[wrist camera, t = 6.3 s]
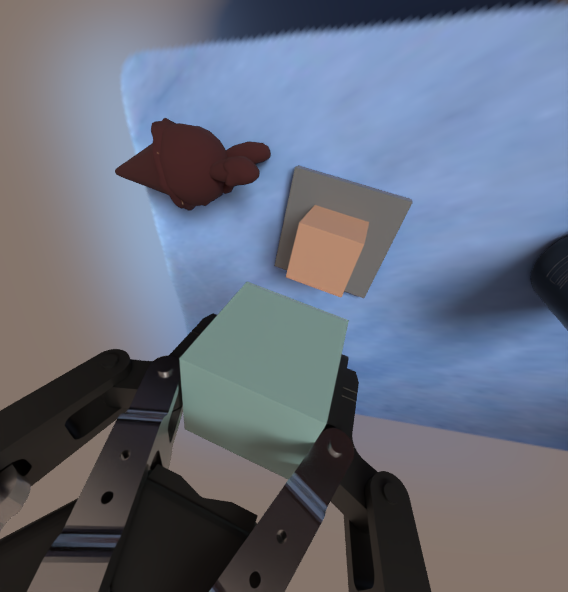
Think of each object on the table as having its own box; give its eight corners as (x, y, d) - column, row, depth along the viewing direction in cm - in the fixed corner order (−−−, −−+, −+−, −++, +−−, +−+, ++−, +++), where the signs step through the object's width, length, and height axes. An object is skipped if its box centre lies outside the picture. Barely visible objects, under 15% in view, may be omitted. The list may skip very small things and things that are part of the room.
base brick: (369, 222, 23) (364, 244, 19) (349, 270, 26) (341, 297, 22) (314, 204, 23) (299, 222, 19) (301, 253, 26) (285, 277, 22)
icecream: (117, 226, 25) (263, 225, 22) (58, 143, 20) (239, 123, 16) (155, 192, 30) (281, 186, 26) (115, 116, 24) (267, 95, 21)
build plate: (411, 199, 21) (412, 202, 21) (364, 293, 28) (363, 298, 27) (298, 165, 23) (295, 167, 22) (277, 261, 29) (274, 265, 28)
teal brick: (348, 320, 12) (326, 423, 8) (317, 383, 15) (290, 480, 11) (246, 281, 12) (179, 358, 8) (237, 349, 15) (184, 428, 11)
